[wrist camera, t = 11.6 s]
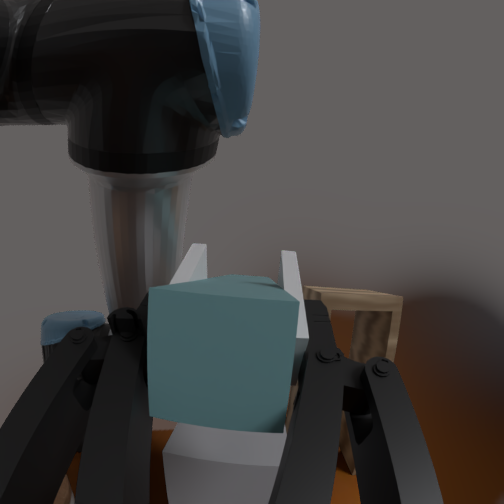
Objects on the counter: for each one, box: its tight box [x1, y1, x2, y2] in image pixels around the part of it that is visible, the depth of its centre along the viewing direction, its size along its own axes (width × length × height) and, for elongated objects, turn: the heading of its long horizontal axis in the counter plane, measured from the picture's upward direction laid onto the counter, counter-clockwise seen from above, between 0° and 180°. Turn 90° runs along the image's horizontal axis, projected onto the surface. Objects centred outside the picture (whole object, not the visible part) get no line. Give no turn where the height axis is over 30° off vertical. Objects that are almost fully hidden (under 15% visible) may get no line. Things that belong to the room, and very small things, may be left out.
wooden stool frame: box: [285, 286, 403, 475], centre depth 40 cm, size 15×12×31 cm
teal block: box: [147, 274, 300, 433], centre depth 19 cm, size 24×4×4 cm, turn 179°
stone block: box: [162, 422, 287, 504], centre depth 19 cm, size 10×9×20 cm
